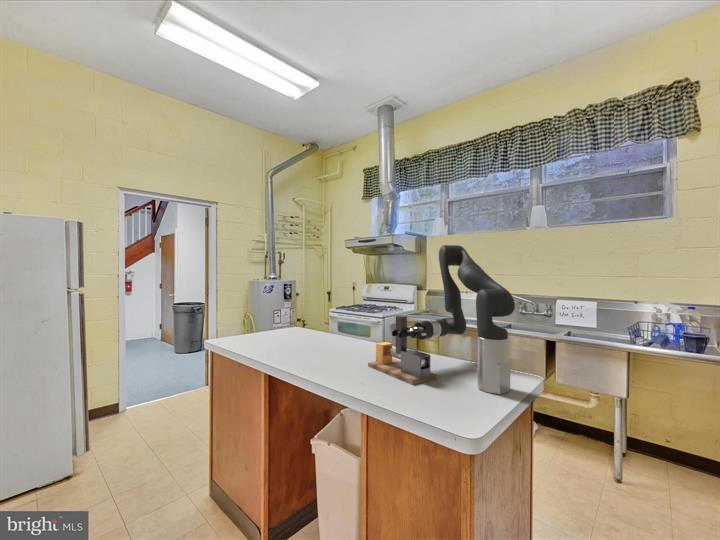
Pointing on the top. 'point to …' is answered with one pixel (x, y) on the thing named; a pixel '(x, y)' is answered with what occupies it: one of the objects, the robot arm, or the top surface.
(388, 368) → the base board
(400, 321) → the sliding bolt
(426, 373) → the guide sleeve
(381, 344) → the socket block
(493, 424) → the top surface
